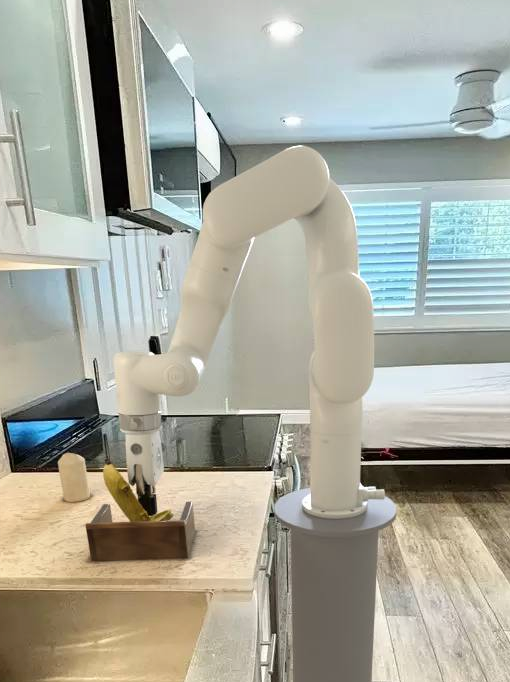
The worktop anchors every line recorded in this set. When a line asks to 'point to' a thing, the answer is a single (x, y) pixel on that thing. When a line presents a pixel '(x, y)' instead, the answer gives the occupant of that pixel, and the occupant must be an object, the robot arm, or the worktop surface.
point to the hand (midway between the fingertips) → (148, 514)
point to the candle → (73, 477)
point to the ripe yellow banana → (128, 497)
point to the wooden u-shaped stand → (140, 537)
